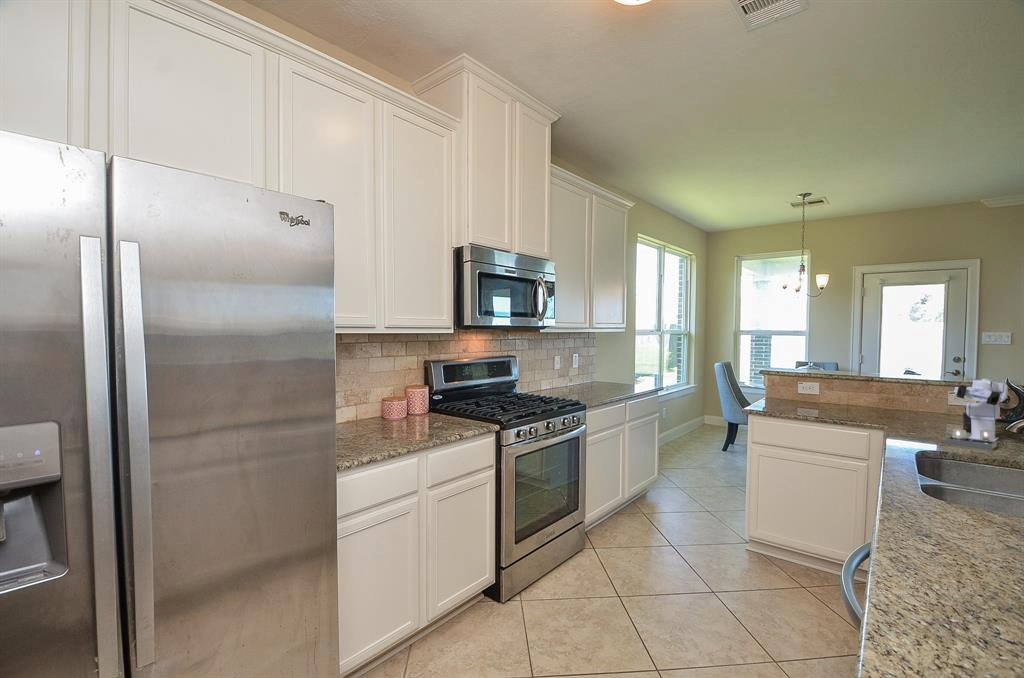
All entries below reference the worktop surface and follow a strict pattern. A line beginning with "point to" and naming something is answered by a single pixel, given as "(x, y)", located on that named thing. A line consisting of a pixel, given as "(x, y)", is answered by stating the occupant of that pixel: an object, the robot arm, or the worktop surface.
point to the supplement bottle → (966, 422)
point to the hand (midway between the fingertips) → (974, 398)
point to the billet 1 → (959, 434)
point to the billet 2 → (987, 435)
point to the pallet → (972, 443)
